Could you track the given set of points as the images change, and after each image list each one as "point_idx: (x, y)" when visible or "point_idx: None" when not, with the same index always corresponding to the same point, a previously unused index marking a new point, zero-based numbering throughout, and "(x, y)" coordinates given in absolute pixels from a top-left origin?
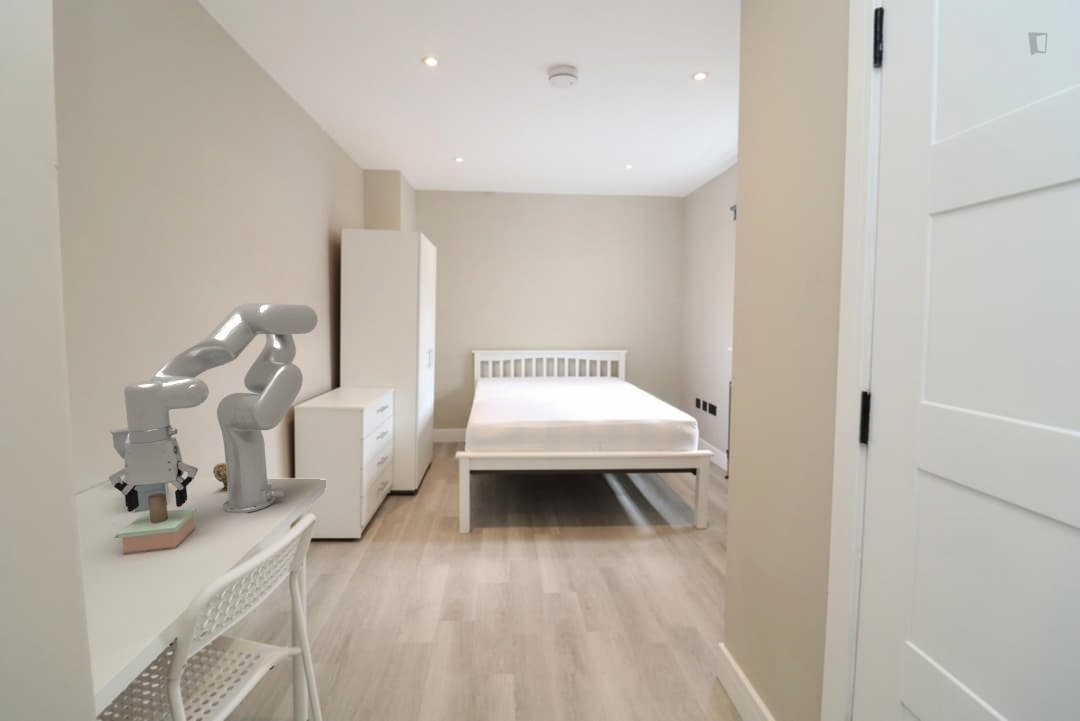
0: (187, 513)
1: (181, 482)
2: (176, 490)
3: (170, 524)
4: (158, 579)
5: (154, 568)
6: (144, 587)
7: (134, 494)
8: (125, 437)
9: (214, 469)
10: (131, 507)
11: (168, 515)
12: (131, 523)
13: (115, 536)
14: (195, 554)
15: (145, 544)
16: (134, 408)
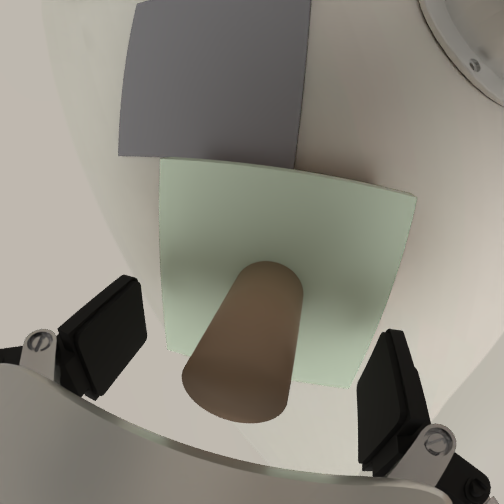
0: (384, 261)
1: (410, 467)
2: (367, 467)
3: (328, 360)
4: (324, 426)
5: (307, 392)
6: (306, 436)
7: (95, 360)
8: None
9: None
10: (137, 350)
11: (295, 248)
12: (162, 275)
13: (118, 146)
14: None
15: None
16: None
